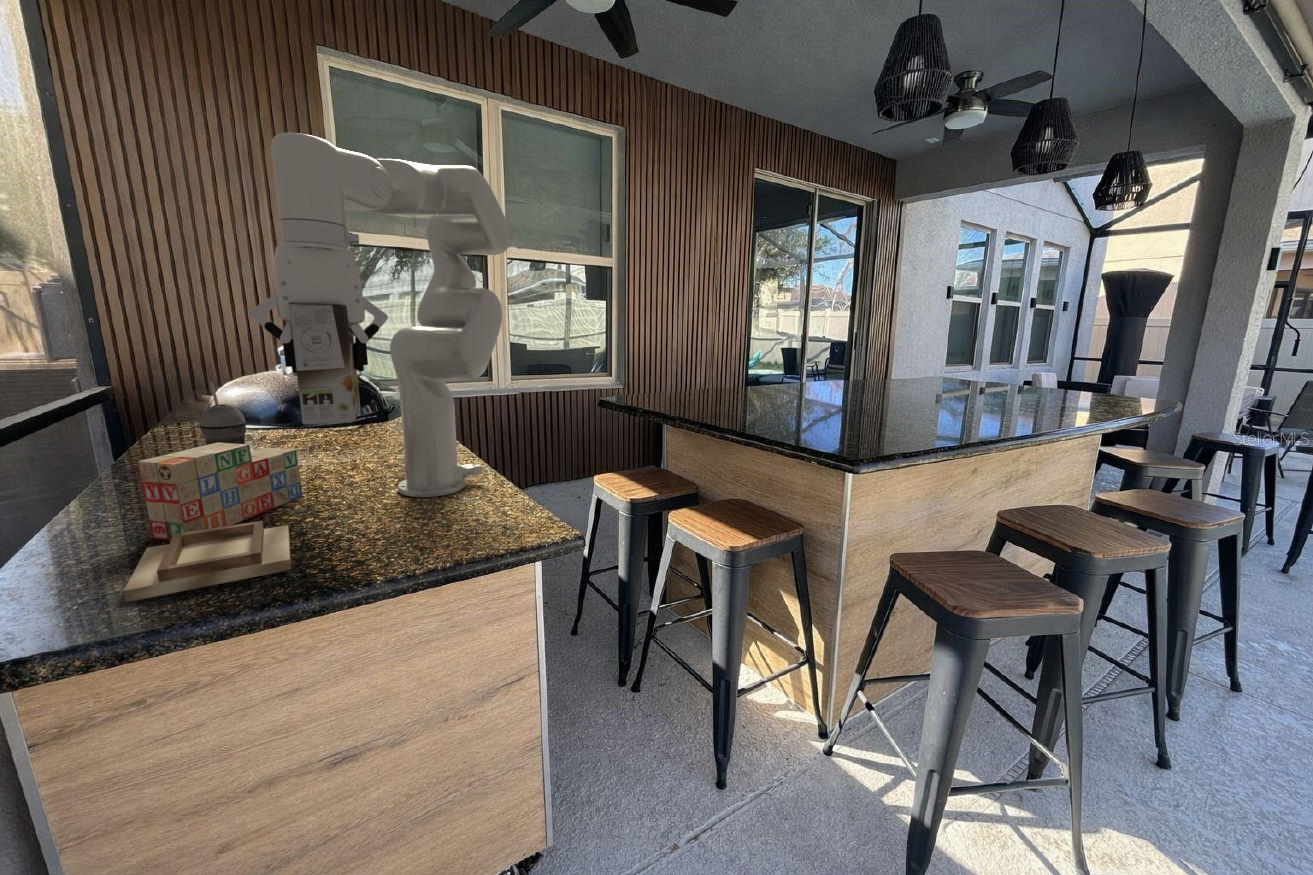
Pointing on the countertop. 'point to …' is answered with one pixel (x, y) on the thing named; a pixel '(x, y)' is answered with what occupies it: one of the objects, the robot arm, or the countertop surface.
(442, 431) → the robot arm
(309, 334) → the coffee box
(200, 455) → the stack of blocks
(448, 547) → the countertop surface
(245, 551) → the base board
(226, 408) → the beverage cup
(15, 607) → the countertop surface
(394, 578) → the countertop surface
